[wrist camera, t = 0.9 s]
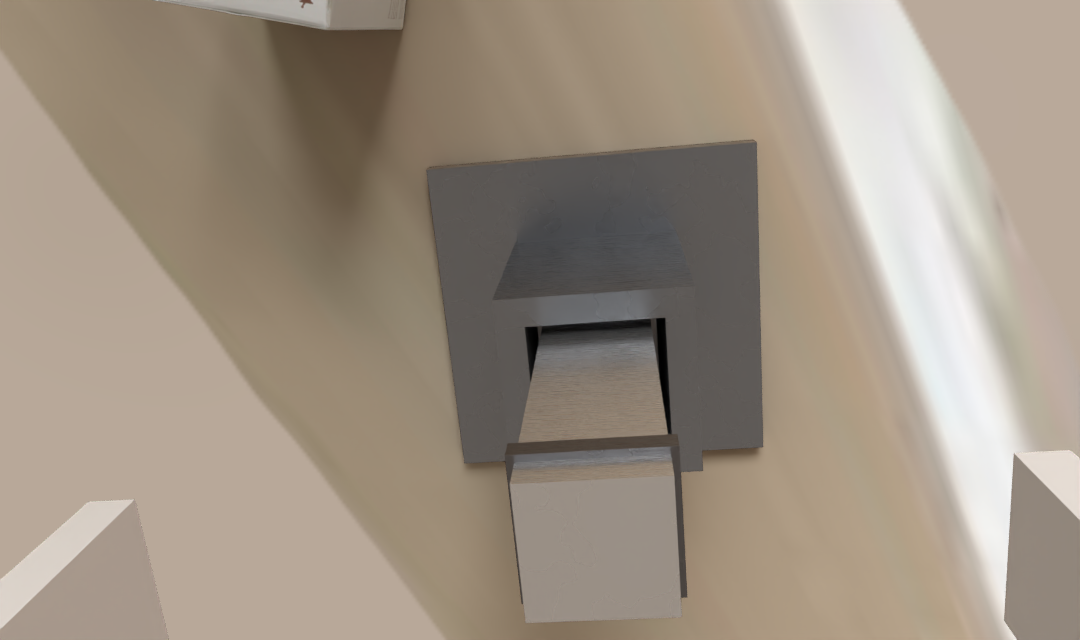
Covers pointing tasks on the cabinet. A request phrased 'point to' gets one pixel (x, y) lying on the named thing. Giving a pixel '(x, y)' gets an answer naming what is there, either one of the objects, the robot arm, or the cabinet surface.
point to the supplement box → (313, 12)
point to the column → (597, 480)
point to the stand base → (605, 280)
